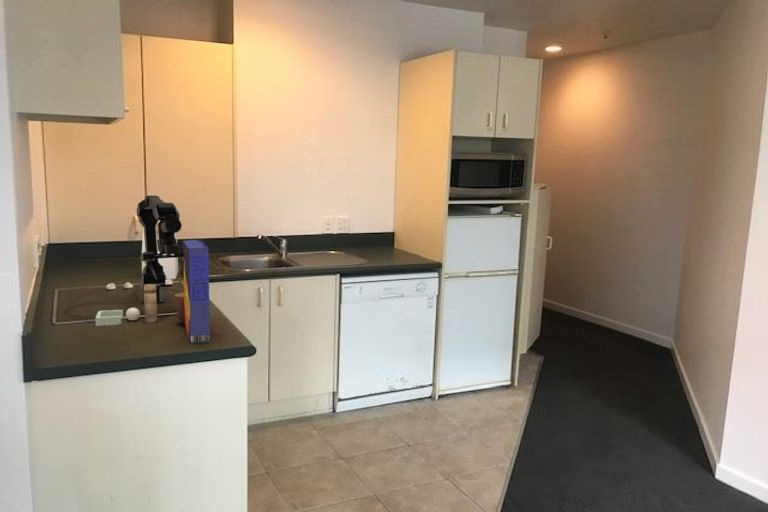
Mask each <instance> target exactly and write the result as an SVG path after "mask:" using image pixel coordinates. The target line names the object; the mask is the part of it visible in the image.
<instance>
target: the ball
mask: <svg viewBox="0 0 768 512" xmlns="http://www.w3.org/2000/svg"><path fill="white" fill-rule="evenodd" d="M140 314H141V312H140V310H139V309H138V308H136V307H129V308H128V309H127V310H126V312H125V317H126V319H128V320H129V321H133V320H134V321H136V320H138V319H139V318H140ZM134 321H133V322H134Z"/></svg>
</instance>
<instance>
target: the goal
mask: <svg viewBox="0 0 768 512" xmlns="http://www.w3.org/2000/svg"><path fill="white" fill-rule="evenodd" d="M123 310H124V309H114V310H113V309H112V310H98V311H97V314H96V316H95V327H102V326H103V327H104V325H105V326H120V325H119V324H121V325H122V319H124V311H123Z"/></svg>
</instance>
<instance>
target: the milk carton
mask: <svg viewBox="0 0 768 512" xmlns="http://www.w3.org/2000/svg"><path fill="white" fill-rule="evenodd" d="M142 227H143V226H142ZM157 233H158V232H156V240H157V241H158V235H157ZM177 233H178V232H177ZM177 233H175V238H176V242H177V243H178V237H177V236H178V235H177ZM141 243H142V245H141V254H142V253H144V252H146V251H145V239H144V227H143V228H142V242H141ZM158 245H159V242H157V252H158V254H159V252H160V250H159V246H158ZM163 255H167V254H163ZM171 255H174V254H171ZM144 262H145V261H141V273H142V274H143V269H144V267H145V265H146V263H144ZM158 262H159V263H160V265H162V266H163V272H164V273H165V275H166V280H175V279H176V278H177V276H178V274H177V273H179V257H177V258H158ZM142 274H141V275H142Z"/></svg>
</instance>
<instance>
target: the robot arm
mask: <svg viewBox="0 0 768 512" xmlns="http://www.w3.org/2000/svg"><path fill="white" fill-rule="evenodd" d="M136 216H137V217H138V222H139V223H140V225H141V226H142V227H144V239H145V251H146V252H144V253H142V252H141V254H140V256H139V259H140V262H142V261H145V262H144V263H146V265H145V267H144V269H143V274H141V276H140V280H139V285H140V288H141V289H143V290H144V285H146V284H156V290H157V292H156V297H157V304H160V303H164V300H162V299H161V288H165V287H166V280H167V279H166V275H165V273H164V272H163V266H162V265H160V263H159V262H158V258H177V257H178V258H182V259H180V273H181V278H182V279H184V260H183V241H184V240H179V241H177V242H176V238H175V233H179V231H181V229H182V226H183V225H182V222H181V220H180V213H179V211H178V209H177V207H176V205H175V204H174V203H173V202H165V201H164V200H162V199H161V198H160V196H158V195H146V196H144V199H143V200H141V201H140V202H138V203H137V207H136ZM156 226H157V227H156ZM156 233H158V235H157V237H158V239H157V240H156ZM157 243H158V245H159V246H158V249H159V251H160V252H159V254H158V252H157ZM163 254H167V255H163ZM171 254H174V255H171ZM142 302H143V303H145V301H144V299H142Z"/></svg>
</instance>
